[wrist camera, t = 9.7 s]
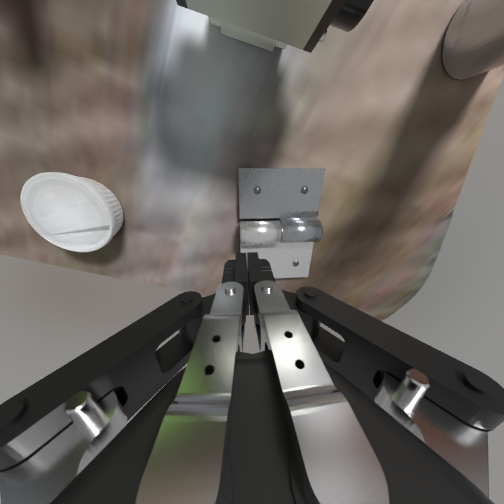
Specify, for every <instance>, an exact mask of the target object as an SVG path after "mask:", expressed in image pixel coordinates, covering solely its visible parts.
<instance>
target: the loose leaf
mask: <svg viewBox="0 0 504 504" xmlns="http://www.w3.org/2000/svg"><path fill="white" fill-rule="evenodd" d="M280 241H281V223H280V221H240V253H246V256H247V252H258V257H259V259H266V260H267V261H269V262H270V266H271V269H272V272H273V276H274V278H295V277H308V274H309V268H310V262H311V255H312V249H313V243H314V242H298V243H280Z"/></svg>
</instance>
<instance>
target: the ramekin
mask: <svg viewBox="0 0 504 504" xmlns="http://www.w3.org/2000/svg"><path fill="white" fill-rule="evenodd" d="M21 206H22V210H23V213H24V215H25V217H26V219H27V220H28V222H29V223H30V224H31V226H32V227H33V228H34V229H35V231H36V232H37V233H38V234H40V235H41V236H42V237H43V238H45V239H46V240H47V241H49V242H51V243H52V244H54V245H56V246H58V247H61V248H63V249H66V250H70V251H75V252H92V251H95V250H98V249H100V248H102V247H104V246H105V245H106V244H108V243H109V242H110V240H111V239H112V237H113V236H114V235H115V234H116V233H117V232H118V230H119V229H120V228H121V226H122V223H123V211H122V207H121V205H120V203H119V201H118V199H117V198H116V196H115V195H114V194H113V193H112V192H111V191H110V190H109V189H108V188H106V187H105V186H104V185H102V184H100V183H98V182H96V181H94V180H91V179H88V178H84V177H77V176H73V175H70V174H66V173H60V172H47V173H41V174H38V175H35V176H33V177H32V178H30V179H29V180H28V181H27V182H26V183H25V184H24V186H23V188H22V191H21Z"/></svg>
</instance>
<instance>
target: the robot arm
mask: <svg viewBox="0 0 504 504" xmlns="http://www.w3.org/2000/svg"><path fill="white" fill-rule="evenodd" d="M442 55H443V63H444V67H445V69H446V71H447V73H448V74H449V75H450V76H451V77H453V78H455V79H462V80H463V79H468V78H471V77H474V76H476V75H479V74H481V73H484V72H487V71H489V70H492V69H495V68H497V67H500V66H503V65H504V0H465V1H464V2H463V4H462V5H461V6H460V7H459V9H458V10H457V12H456V13H455V15H454V17H453V19H452V20H451V22H450V24H449V27H448V30H447V32H446V35H445V39H444V43H443V52H442ZM248 290H249V293H248ZM249 305H250V315H254V328H255V333H256V338H257V344H258V350H259V353H256V354H249V353H244V352H243V349H244V334H245V322H246V315H249ZM320 323H323V324H324V325H326V326H328V327H329V328H331V329H332V330H334V331H335V332H337V333H339V334H340V335H341V336H342V337H343V338H344V340H345V342H343V341H341V340H340V339H338V338H337V337H335V336H334V335H332V334H331V333H329V332H328V331H326V330H325V329H323V328H322V327H320ZM178 330H179V333H178V334H177V335H176V336H175V337H173V338H172V339H171V340H169V341H168V342H167V343H166V344H164V345H163V346H162V347H161V348H159V349H158V350H157V351H156V349H157V348H158V346H159V345H160V344H161V343H162V342H163V341H165V340H166V339H167V338H169V337H170V336H171V335H172V334H174V333H175V332H176V331H178ZM187 363H188V364H187ZM185 364H187V366H186V367H185V368H184V369H182V370H181V371H180V372H179V373H177V372H178V371H179V370H180V369H181V368H182V367H183V366H185ZM176 373H177V374H176ZM175 374H176V375H175ZM174 375H175V376H174ZM173 376H174V377H173ZM172 377H173V378H172ZM171 378H172V379H171ZM170 379H171V380H170ZM169 380H170V381H169ZM168 381H169V382H168ZM167 382H168V383H167ZM166 383H167V384H166ZM165 384H166V385H165ZM164 385H165V386H164ZM163 386H164V387H163ZM162 387H163V388H162ZM161 388H162V389H161ZM160 389H161V390H160ZM159 390H160V391H159ZM158 391H159V392H158ZM157 392H158V393H157ZM156 393H157V394H156ZM154 394H156V395H155V396H154ZM153 396H154V397H153ZM152 397H153V398H152ZM151 398H152V399H151ZM150 399H151V400H150ZM149 400H150V401H149ZM147 401H149V402H148V403H147V404H146V405H145V406H144V407H143V409H141V410H140V411H139V413H138V414H137V415H136V416H135V417H134V418H133V419H132V420H131V421H130V422H129V423H128V424H127V421H128V420H129V419H130V418H131V417H132V416H133V415H134V414H135V413H136V412H137V411H138V410H139V409H140V408H141V407H142V406H143V405H144V404H145V403H146V402H147ZM503 421H504V389H503V388H502V387H501V386H500V385H499V384H498V383H497V382H495V381H494V380H493V379H492V378H490V377H489V376H487V375H486V374H484V373H482V372H480V371H479V370H477V369H475V368H473V367H471V366H469V365H467V364H465V363H463V362H461V361H459V360H457V359H455V358H453V357H451V356H449V355H447V354H445V353H443V352H441V351H439V350H437V349H435V348H433V347H431V346H429V345H427V344H425V343H423V342H421V341H419V340H417V339H415V338H413V337H411V336H409V335H407V334H405V333H403V332H401V331H399V330H398V329H395V328H394V327H392V326H390V325H388V324H385V323H383V322H382V321H380V320H378V319H376V318H374V317H372V316H370V315H368V314H366V313H364V312H362V311H360V310H358V309H356V308H354V307H352V306H350V305H348V304H346V303H344V302H342V301H340V300H338V299H336V298H334V297H332V296H330V295H328V294H326V293H324V292H322V291H320V290H318V289H316V288H313V287H302V288H300V289H298V290H297V292H296V293H290V292H286V291H283V290H281V288H280V286H279V285H278V284H277V283H276V282H275V279H274V276H273V272H272V269H271V266H270V262H269V261H267V260H266V259H259V257H258V252H247V256H246V253H236V260H228V261H227V262H226V263H225V266H224V273H223V278H222V284H221V285H220V286H219V287H218V288H217V291H216V293H215V294H213V295H210V296H207V297H203V298H202V296H201V295H200V294H199V293H198V292H193V291H189V292H184V293H182V294H179V295H178V296H176V297H175V298H173V299H171V300H170V301H168V302H166V303H165V304H163V305H162V306H160V307H158V308H157V309H155V310H153V311H152V312H150V313H148V314H147V315H145V316H144V317H142V318H140V319H139V320H137V321H135V322H134V323H132V324H131V325H129V326H128V327H126V328H124V329H123V330H121V331H119V332H118V333H116V334H114V335H113V336H111V337H109V338H108V339H107V340H105V341H103V342H101V343H100V344H98V345H97V346H95V347H93V348H92V349H90V350H89V351H87V352H85V353H83V354H82V355H80V356H79V357H77V358H75V359H74V360H72V361H70V362H69V363H67V364H66V365H64V366H62V367H61V368H59V369H57V370H56V371H54V372H53V373H51V374H49V375H48V376H46V377H44V378H43V379H41V380H39V381H38V382H36V383H35V384H33V385H31V386H30V387H28V388H26V389H25V390H23V391H22V392H20V393H19V394H17V395H15V396H14V397H12V398H10V399H9V400H7V401H5V402H4V403H2V404H1V405H0V495H1V504H494V503H493V502H492V501H491V500H490V499H489V469H488V467H489V466H488V434H489V433H490V432H491V431H493V430H494V429H495V428H496V427H497V426H499V425H500V424H501V423H502V422H503ZM126 424H127V425H126Z"/></svg>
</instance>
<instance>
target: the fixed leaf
mask: <svg viewBox="0 0 504 504" xmlns="http://www.w3.org/2000/svg"><path fill="white" fill-rule="evenodd" d="M238 172H239V217H240V219H251V218H278V220H279V221H280V223H281V241H280V243H298V242H319V241H320V239H321V236H322V234H323V228H322V224H321V222H320V221H319V220H317V216H318V210H319V204H320V197H321V191H322V185H323V179H324V172H325V169H298V168H238Z"/></svg>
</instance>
